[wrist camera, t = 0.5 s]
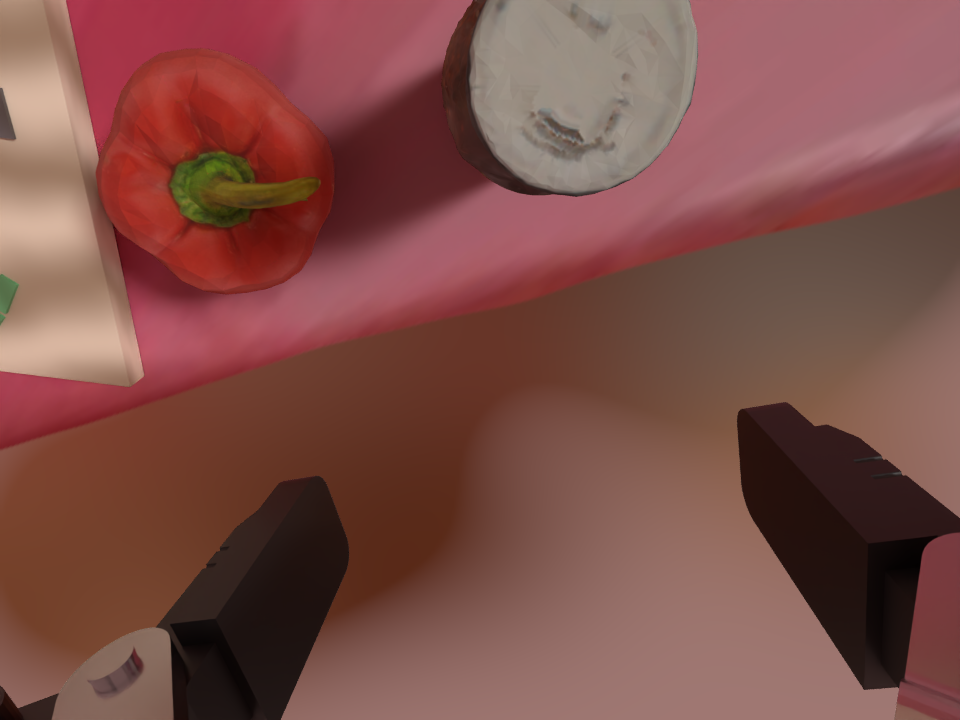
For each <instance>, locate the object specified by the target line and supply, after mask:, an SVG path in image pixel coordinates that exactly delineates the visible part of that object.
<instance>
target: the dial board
mask: <svg viewBox="0 0 960 720" xmlns="http://www.w3.org/2000/svg"><path fill="white" fill-rule="evenodd" d="M98 161H99V157H98V152H97V148H96V143H95V138H94V133H93V128H92V124H91V119H90V114H89V109H88V105H87V100H86V95H85V90H84V86H83V81H82V76H81V71H80V66H79V62H78V57H77V52H76V47H75V43H74V38H73V33H72V28H71V23H70V19H69V14H68V9H67V4H66V0H0V371H5V372H13V373H21V374H29V375H37V376H45V377H53V378H61V379H69V380H77V381H85V382H93V383H102V384H110V385H118V386H126V387H131V386H132V385H133V384H135V383H136V382H137V381H139V380H140V379H141V378H142V377H144V372H143V367H142V362H141V358H140V353H139V348H138V343H137V339H136V334H135V329H134V324H133V319H132V315H131V310H130V305H129V300H128V296H127V291H126V286H125V281H124V276H123V272H122V267H121V262H120V257H119V253H118V248H117V243H116V238H115V234H114V229H113V224H112V222H111V221H110V219H109V218H108V216H107V213H106V211H105V209H104V206H103V204H102V201H101V199H100V197H99V193H98V187H97V180H96V169H97V165H98Z"/></svg>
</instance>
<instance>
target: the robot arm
mask: <svg viewBox="0 0 960 720" xmlns="http://www.w3.org/2000/svg"><path fill="white" fill-rule="evenodd" d="M737 428H738V442H739V457H740V472H741V485H742V491H743V496H744V499H745V502H746V506H747V508H748V511H749V513H750V515H751V517H752V519H753V521H754V522H755V524H756V525H757V527H758V528H759V530H760V531H761V533H762V534H763V536H764V537H765V539H766V541H767V542H768V543H769V545H770V547H771V548H772V550H773V551H774V553H775V554H776V556H777V557H778V559H779V560H780V562H781V563H782V565H783V567H784V568H785V570H786V571H787V573H788V574H789V575H790V577H791V579H792V580H793V582H794V583H795V585H796V586H797V588H798V589H799V591H800V593H801V594H802V595H803V597H804V599H805V600H806V602H807V603H808V605H809V606H810V608H811V609H812V611H813V612H814V614H815V615H816V617H817V618H818V620H819V621H820V623H821V625H822V626H823V628H824V629H825V630H826V632H827V634H828V635H829V637H830V638H831V640H832V641H833V643H834V645H835V646H836V648H837V649H838V651H839V652H840V654H841V655H842V657H843V658H844V660H845V661H846V663H847V664H848V666H849V667H850V669H851V671H852V672H853V674H854V675H855V677H856V678H857V680H858V681H859V683H860V684H861V685H862V687H863V689H864V690H868V689H881V688H892V687H898V688H899V693H898V699H897V706H896V712H895V719H894V720H960V518H959V517H958V516H956V515H955V514H954V513H953V512H951V511H950V510H949V509H948V508H946V507H945V506H944V505H942V504H941V503H940V502H939V501H938V500H936V499H935V498H934V497H933V496H931V495H930V494H929V493H928V492H926V491H925V490H924V489H923V488H921V487H920V486H919V485H918V484H916V483H915V482H914V481H912V480H911V479H910V478H909V477H908V476H903V475H902V473H901V471H900V470H899V469H898V468H896V467H895V466H894V465H893V464H891V463H890V462H889V461H888V460H883V459H882V456H881V455H880V454H879V453H878V452H876V451H875V450H874V449H873V448H871V447H870V446H869V445H868V444H866V443H865V442H864V441H863V440H861V439H860V438H859V437H856V436H854V435H851V434H849V433H846V432H844V431H842V430H839V429H837V428H834V427H832V426H829V425H821V426H814V425H813V424H812V423H810V422H809V421H808V420H807V419H806V418H805V417H803V416H802V415H801V414H800V413H799V412H798V411H797V410H796V409H795V408H793V407H792V406H791V405H790V404H788V403H786V402H783V403H777V404H771V405H764V406H758V407H752V408H746V409H741V410H740V411H739V412H738V416H737ZM348 561H349V546H348V541H347V537H346V534H345V532H344V529H343V526H342V523H341V521H340V518H339V515H338V513H337V510H336V507H335V505H334V502H333V499H332V497H331V494H330V492H329V489H328V486H327V484H326V482H325V481H324V480H323V478H321V477H319V476H313V477H307V478H300V479H294V480H288V481H283V482H281V483H279V484H278V485H277V487H276V488H275V489H274V490H273V492H272V493H271V494H270V495H269V497H268V498H267V499H266V501H265V502H264V503H263V505H262V506H261V507H260V508H259V510H257V511H256V512H255V513H254V514H253V515H251V516H250V517H249V518H247V519H246V520H245V521H244V522H243V523H241V524H240V525H239V526H237V527H236V528H235V529H234V531H233V532H232V533H231V534H230V536H229V537H228V538H227V539H226V541H225V542H224V543H223V544H222V546H221V547H220V551H218V552H216V553H215V554H214V556H213V557H212V558H211V559H210V560H209V562H208V563H207V564H206V565H207V567H206V568H205V569H202V570H201V572H200V573H199V574H198V575H197V577H196V578H195V579H194V581H193V582H192V583H191V584H190V585H189V587H188V588H187V589H186V590H185V592H184V593H183V594H182V595H181V597H180V598H179V599H178V600H177V602H176V603H175V604H174V606H173V607H172V608H171V609H170V610H169V612H168V613H167V614H166V615H165V617H164V618H163V619H162V620H161V622H160V623H159V624H158V625H157V627H156V628H146V629H142V630H138V631H136V632H133V633H130V634H127V635H125V636H123V637H121V638H119V639H117V640H116V641H114V642H112V643H110V644H108V645H107V646H105V647H104V648H102V649H101V650H100V651H98V652H97V653H96V654H94V655H93V656H92V657H90V658H89V659H88V660H87V661H86V662H85V663H83V664H82V665H81V666H80V667H79V668H78V669H77V670H76V671H75V672H74V673H73V674H72V676H71V677H70V678H69V679H68V680H67V682H66V683H65V685H64V686H63V687H62V689H61V691H60V693H58V694H56V695H53V696H50V697H48V698H45V699H42V700H39V701H37V702H34V703H31V704H29V705H26V706H23V707H20V708H17V707H16V705H15V704H14V703H13V701H12V700H11V698H10V697H9V696H8V694H7V693H6V692H5V690H4V689H3V688H2V687H1V686H0V720H281V718H282V715H283V713H284V711H285V709H286V706H287V704H288V702H289V699H290V697H291V695H292V692H293V690H294V688H295V686H296V684H297V681H298V679H299V677H300V674H301V672H302V670H303V668H304V665H305V663H306V661H307V659H308V656H309V654H310V652H311V650H312V647H313V645H314V643H315V641H316V638H317V636H318V633H319V631H320V629H321V627H322V625H323V622H324V620H325V618H326V616H327V613H328V611H329V609H330V607H331V604H332V602H333V600H334V597H335V595H336V593H337V591H338V588H339V586H340V584H341V582H342V579H343V577H344V575H345V572H346V570H347V566H348Z"/></svg>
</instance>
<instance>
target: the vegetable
mask: <svg viewBox="0 0 960 720" xmlns="http://www.w3.org/2000/svg"><path fill="white" fill-rule="evenodd" d="M96 180H97V187H98V193H99V197H100V199H101V201H102V204H103V206H104V209H105V211H106V213H107V216H108V218H109V219H110V221H111V222H112V223H113V225H114V226H115V227H116V229H117V230H118V231H119V232H120V233H121V234H122V235H124V236H125V237H127V238H128V239H129V240H131V241H132V242H134V243H135V244H136V245H138V246H139V247H141V248H143V249H144V250H146V251H148V252H149V253H150V254H152V255H153V256H154V257H155V258H156V259H157V260H159V261H160V262H161V263H162V264H163V265H165V266H166V267H167V268H168V269H169V270H170V271H171V272H172V273H174V274H175V275H176V276H177V277H178V278H179V279H180V280H182V281H183V282H185V283H187V284H189V285H192V286H194V287H196V288H199V289H201V290H204V291H206V292H213V293H220V294H236V293H247V292H252V291H258V290H263V289H267V288H270V287H273V286H275V285H278V284H281V283H283V282H285V281H287V280H288V279H290V278H291V277H292V276H294V275H295V274H297V273H298V272H299V271H301V270H302V268H303V267H304V265H305V263H306V262H307V260H308V259H309V257H310V256H311V254H312V250H313V247H314V244H315V242H316V239H317V236H318V234H319V231H320V228H321V227H322V225H323V223H324V222H325V220H326V218H327V216H328V215H329V213H330V211H331V206H332V201H333V195H334V190H335V185H334V160H333V157H332V154H331V150H330V147H329V143H328V139H327V137H326V136H325V135H324V134H323V133H322V132H321V131H320V130H319V128H318V127H317V126H316V125H315V124H314V123H313V122H312V121H311V120H310V119H309V118H308V117H307V116H306V115H305V114H303V113H302V112H301V111H300V110H299V109H297V108H296V107H295V106H294V105H293V104H292V103H291V102H290V101H289V100H288V99H287V98H286V97H285V95H284V94H283V93H282V92H281V91H280V90H279V89H278V88H277V86H276V85H274V84H273V83H272V82H271V81H270V80H269V79H268V78H267V77H266V76H265V75H263V74H262V73H261V72H260V71H259V70H258V69H257V68H255V67H253V66H252V65H250V64H248V63H246V62H244V61H242V60H240V59H238V58H236V57H234V56H232V55H230V54H226V53H222V52H218V51H214V50H210V49H203V48H200V49H183V50H177V51H171V52H165V53H160V54H158V55H157V56H155V57H153V58H152V59H150V60H149V61H147V62H145V63H144V64H142V65H141V66H140V67H139V68H138V69H137V70H136V71H135V72H134V73H133V75H132V76H131V78H130V79H129V81H128V82H127V83H126V85H125V86H124V88H123V89H122V91H121V94H120V96H119V99H118V102H117V105H116V108H115V111H114V117H113V122H112V128H111V132H110V134H109V136H108V138H107V140H106V142H105V144H104V146H103V148H102V151H101V153H100V157H99V161H98V165H97V169H96Z"/></svg>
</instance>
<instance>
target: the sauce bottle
mask: <svg viewBox="0 0 960 720" xmlns="http://www.w3.org/2000/svg"><path fill="white" fill-rule="evenodd" d="M697 60H698V42H697V30H696V26H695V22H694V20H693V17H692V12H691V4H690V1H689V0H473V2H472V4H471V5H470V6H469V7H468V8H467V10H466V12H465V14H464V16H463V18H462V19H461V20H460V21H459V22H458V25H457V28H456V29H455V31H454V33H453V35H452V37H451V40H450V42H449V45H448V48H447V51H446V56H445V60H444V66H443V73H442V82H441V86H442V94H443V105H444V108H445V111H446V116H447V122H448V125H449V128H450V131H451V133H452V135H453V138H454V140H455V143H456V147H457V149H458V151H459V153H460V154H461V156H462V158H463V159H465V160H466V161H467V162H468V163H470V164H471V165H472V166H474V167H475V168H476V169H478V170H479V171H480V172H481V173H482V174H483V175H484V176H486V177H487V178H488V179H490V180H491V181H493V182H495V183H496V184H498V185H500V186H502V187H504V188H506V189H508V190H511V191H514V192H517V193H522V194H528V195H551V194H557V195H567V196H574V197H577V196H584V195H590V194H595V193H598V192H601V191H604V190H607V189H610V188H613V187H616V186H618V185H620V184H622V183H624V182H626V181H629V180H631V179H633V178H634V177H636V176H637V175H638V174H639V173H641V172H642V171H643V170H645V169H646V168H647V167H648V166H650V165H651V164H652V163H653V162H654V161H655V159H656V158H657V157H658V156H659V155H660V153H661V152H662V151H663V150H664V149H665V148H666V147H667V146H668V144H669V143H670V141H671V139H672V137H673V136H674V134H675V133H676V131H677V129H678V128H679V126H680V123H681V121H682V119H683V117H684V115H685V113H686V111H687V110H688V108H689V106H690V104H691V100H692V95H693V90H694V86H695V79H696V70H697Z"/></svg>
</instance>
